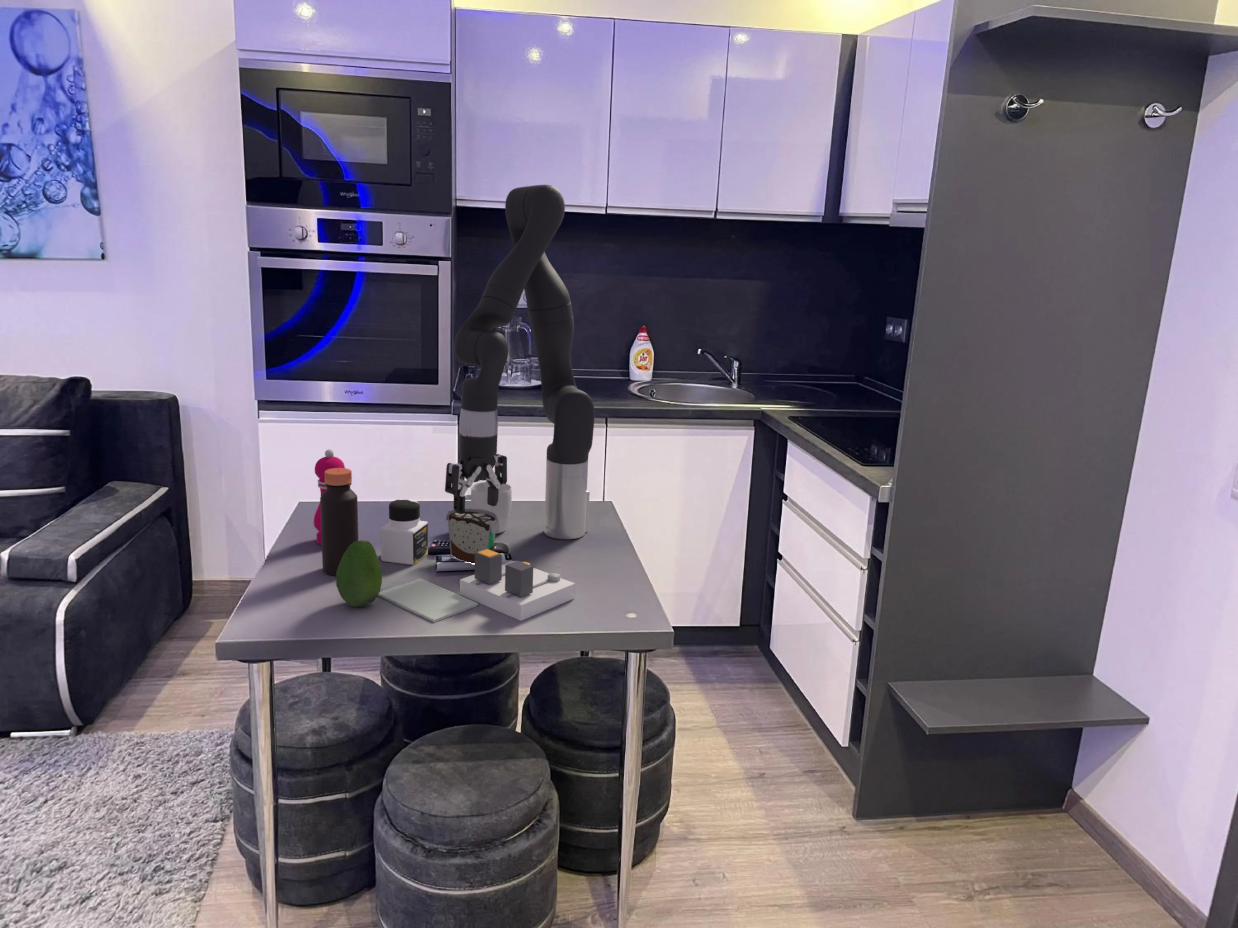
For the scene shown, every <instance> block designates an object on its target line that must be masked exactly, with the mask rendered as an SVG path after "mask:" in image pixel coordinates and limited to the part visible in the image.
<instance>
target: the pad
mask: <svg viewBox="0 0 1238 928" xmlns="http://www.w3.org/2000/svg"><path fill="white" fill-rule="evenodd" d="M377 597H379V598H381V599H384V600H385V601H388V602H390V603H392V604H394V605H396V606H399V607H401V608H403V609H405V610H406V611H409V612H411V613H413V614H415V615H417V616H419V617H422V618H424V619H426V620H428V621H430V622H432V623H437V622H439V621H442V620H445V619H447V618H450V617H452V616H454V615H457V614H458V615H459V614H460V613H463V612H465V611H467V610H471V609H473V608H476V607H478V605H479V603H478V602H476V601H473V600H471V599H469V598H467V597H464V596H462V595H460V594H457V593H455V592H453V591H450V590H448V589H445V588H444V587H441V586H439V585H437V584H434V583H432V582H430V581H427V580H425V579H423V578H419V579H415V580H413V581H410V582H407V583H404V584H401V585H397V586H395V587H391V588H389V589H386V590H383V591H380V592H379V594H378V596H377Z"/></svg>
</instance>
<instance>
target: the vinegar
mask: <svg viewBox="0 0 1238 928" xmlns="http://www.w3.org/2000/svg"><path fill="white" fill-rule="evenodd" d="M324 474H325V485H326V486H327V490H326V491H325V492H324V493H323V494H322V495H321V494H320V498H319V503H320V509H321V536H322V545H321V556H322V557H321V559H322V560H321V561H322V571H323V572H324V573H325V574H326V575H329V576H333V577H334V576H335V577H336V572H337V569H338V566H339V564H340V561H341V559H342V557H343V554H344V553H345V551H346V550H347V548H348V547H349V546H350V545H351V544H352V543H353V542H356V541H359V513H358V512H359V510H358V509H359V507H358V495H357V494H356V493H355V491H353V489H352V488H351V486H352V485H353V484H352V482H353V479H352V478H353V475H352V470H351V469H349V468H346V467H345V468H332V469H328V470H326V471H325V472H324Z"/></svg>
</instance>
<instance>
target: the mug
mask: <svg viewBox="0 0 1238 928" xmlns="http://www.w3.org/2000/svg"><path fill="white" fill-rule="evenodd" d="M488 487H490V486H489V485H488V483H487V482H486V481H482V482H475V483H473V484H472V486H471V487H470V489H471V490H470V494H464V496H465V501H470V508H474V509H483V510H487V511H490V512H493V513H494V514H495V515H496V516H497V518H498V521H499V529H498V530H497V531H496V533H495V535H496V534H501V533H503V532H504V531H506V529H507V527H508V525H509V522H510V521H509V520H510V516H511V511H512V498H513V497H512V494H513V493H512V486H511V485H510V484H508V483H506V484H502V485H501V486H500V488H499V494H498V502H497V505H496V506H490V505H488V503H487V495H488Z"/></svg>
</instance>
